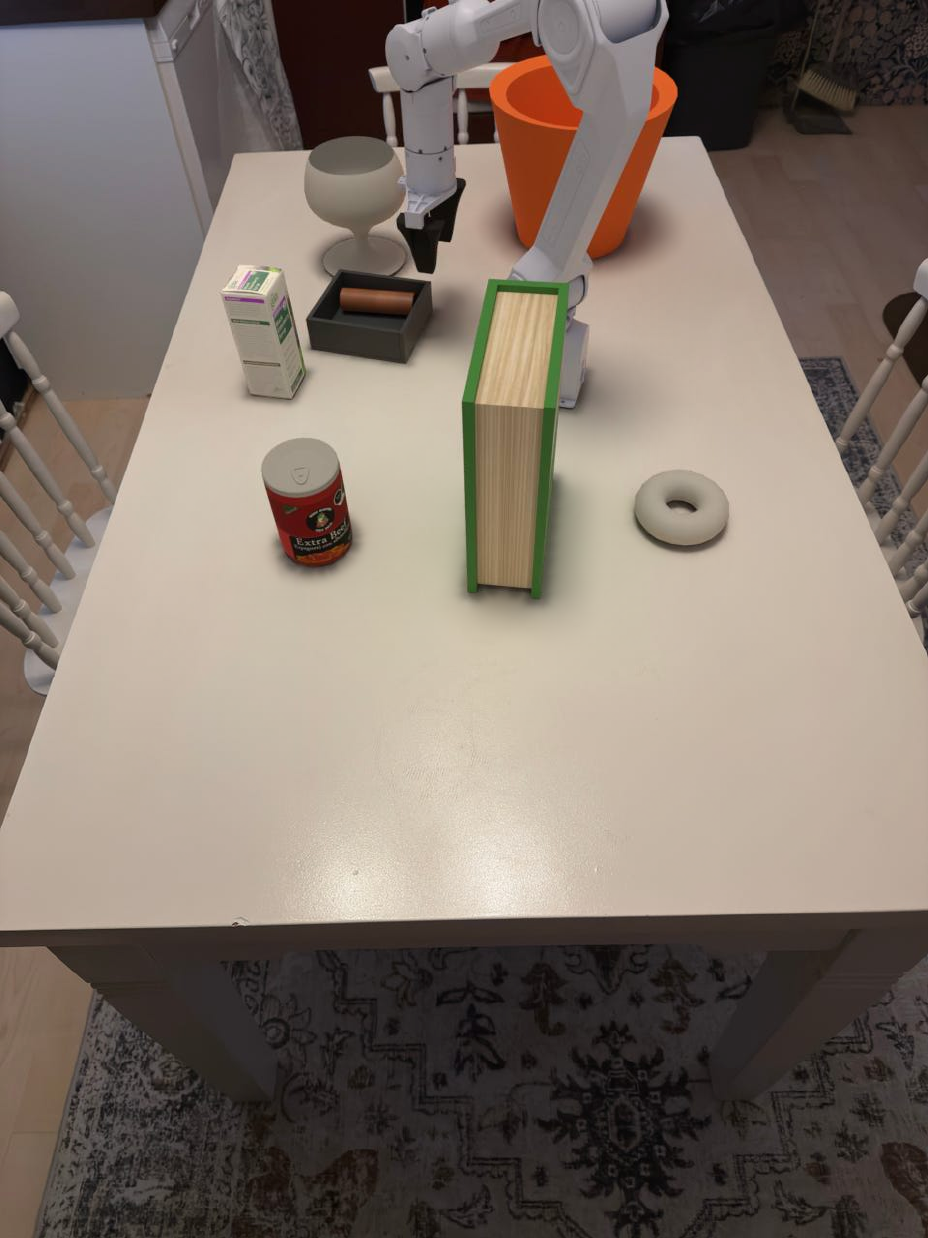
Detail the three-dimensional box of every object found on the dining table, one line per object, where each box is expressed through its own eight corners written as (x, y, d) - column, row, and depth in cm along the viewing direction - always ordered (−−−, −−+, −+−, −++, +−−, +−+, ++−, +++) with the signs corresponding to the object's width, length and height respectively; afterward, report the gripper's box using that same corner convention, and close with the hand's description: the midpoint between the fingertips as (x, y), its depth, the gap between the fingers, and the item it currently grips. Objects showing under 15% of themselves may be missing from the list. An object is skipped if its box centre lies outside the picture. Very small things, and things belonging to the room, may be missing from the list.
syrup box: (292, 400, 104) (268, 294, 93) (248, 395, 105) (218, 289, 93) (307, 372, 108) (285, 266, 96) (263, 367, 108) (237, 262, 97)
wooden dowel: (411, 298, 111) (412, 320, 113) (416, 289, 113) (417, 310, 115) (338, 292, 112) (341, 314, 114) (344, 283, 114) (346, 305, 116)
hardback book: (539, 598, 84) (555, 408, 65) (467, 591, 85) (461, 401, 66) (553, 477, 95) (569, 283, 76) (488, 472, 96) (488, 278, 76)
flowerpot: (587, 177, 137) (600, 38, 121) (688, 244, 124) (717, 98, 108) (458, 221, 130) (454, 78, 114) (551, 296, 117) (561, 148, 101)
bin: (433, 311, 115) (431, 280, 112) (405, 363, 108) (403, 333, 105) (343, 298, 118) (339, 268, 114) (311, 349, 111) (305, 318, 107)
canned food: (297, 578, 87) (276, 502, 78) (271, 529, 91) (248, 452, 82) (365, 552, 89) (352, 475, 80) (336, 504, 93) (321, 427, 84)
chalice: (430, 252, 125) (424, 146, 113) (375, 297, 118) (362, 189, 106) (355, 227, 129) (341, 123, 117) (298, 270, 122) (277, 164, 110)
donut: (717, 562, 87) (732, 495, 92) (725, 540, 84) (739, 473, 90) (623, 540, 89) (642, 476, 95) (627, 518, 86) (647, 454, 92)
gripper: (414, 112, 100) (421, 223, 111) (375, 168, 92) (386, 282, 103) (471, 118, 99) (472, 229, 110) (436, 175, 91) (441, 289, 102)
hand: (434, 255), depth 106 cm, fingers open, 7 cm apart
